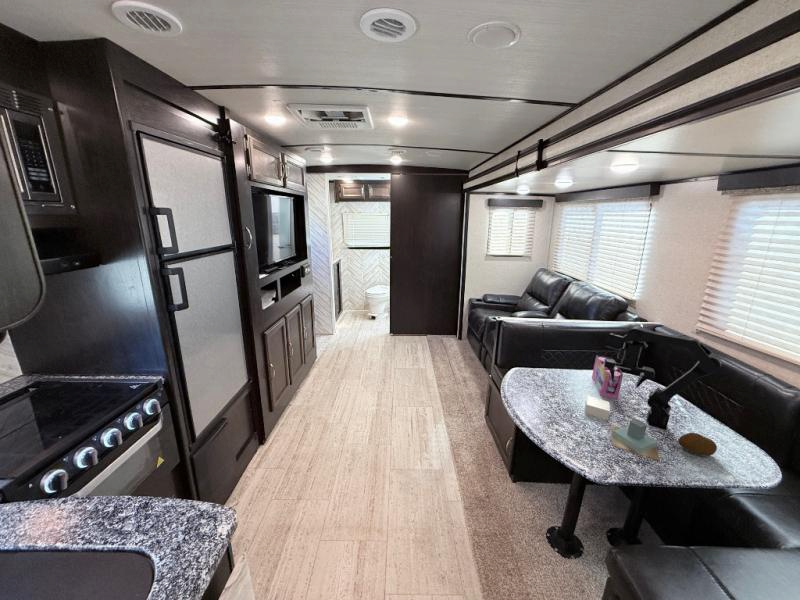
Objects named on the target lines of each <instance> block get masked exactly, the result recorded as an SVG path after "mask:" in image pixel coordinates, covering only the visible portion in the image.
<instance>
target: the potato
mask: <svg viewBox="0 0 800 600" xmlns="http://www.w3.org/2000/svg"><path fill="white" fill-rule="evenodd" d="M677 441H678V445H679V446H680V447H681V448H683V449H684V450H686V451H688V452H690V453H692V454H694V455H697V456H701V457H702V456H703V457H709V456H713V455H715V454H716V452H717V450H718V446H717V444H716V443H715V441H714V440H712V439H710V438H709V437H707V436H703V435H702V434H700V433H695V432H688V433H685V434H683V435H681V436H680V437H678V440H677Z"/></svg>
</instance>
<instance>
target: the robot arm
mask: <svg viewBox="0 0 800 600" xmlns="http://www.w3.org/2000/svg"><path fill="white" fill-rule="evenodd" d="M647 342H648V343H649V342H650V343H651V342H653V343H658V344H662V345H663V344H664V345H668V346H673V347H677V348H678V347H679V348H684V349H688V350H689V351H690V352H691V353H692V354H693V356H694V357H695V359H696V360H697V362H696V363H695V364H694V366H693V367H692V368H691V369H690V370H688V371H686V372H685V373H683V375H681V376H680V377H679V378H676V379H675V381H673V382H672V383H670V384H669V385H668V386H666V387H664V388H662V389H661V388H660V387H657V388H656V389H655V390H653V391H651V392H650V393H649V395H648V396H647V398H648V399H647V400H646V401H647V405H648V406H649V408H650V410H648V411H647V415H646V421H647V426H650V427H654V428H657V429H661V430H663V431H668V424H669V420H670V417H671V415H670V412H671V410H672V406H671V405H670V404H669V402H670V401H671V400H672V399H673V398H674V397H675V396H676V395H677V394H679V393H681V392H682V391H683V390H685V389H686V388H688V387H689V386H690V385H692V384H694V383H695V382H696V381H697V380H699V379H700V378H702V377H706V376H708V375H711V374H713V373H716V372H718V371H720V369H721V367H722V364H723V363H722V362H723V361H722V358H721V357H720V356H719V355H718V354H716V353H713V351H711V350H710V349H709V348H707V347H706V345H704V344H702V343H701V341H700V340H699V339H697V338H694V337H691V338H690V337H687V336H686V337H685V336H680V335H674V334H669V333H664V332H657V331H654V330H651V329H649V328H646V327H643V326H639V325H637V326H633V327H632V328H631V329H630V330H628V332H627V334H625V335H623V336H622V335H620V334H616V333H612V332H610V333H609V334H608V336H607V339H606V340H605V347H607V348H610V349H612V350H617V351H619V352H618V353H617V356H616V357H617V359H618V360H620V363H619V362H616V360H615V359H613V358H612V359H613V360H612V359H608V358H606V359H605V360H604V367H606V368H607V369H608V370H610V373H611V378H612V382H613V381H614V372H615V369H614V367H618V368H619V369H624V370H628V371H631V372H637V373H639V377H638V380H637V382H636V386H635V388H636V389H637V388H639V387H640V386H641V385H642V384H643V383H644V382H646V381H647V380H651V379H655V377H656V372H655V370H654V368H651V367H648V366H642V368H641V367H638V363H639V360H640V355H641V352H642V349H643V348H644V349H647V347H649V345H648V344H647ZM621 350H624V352H620V351H621Z"/></svg>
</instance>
